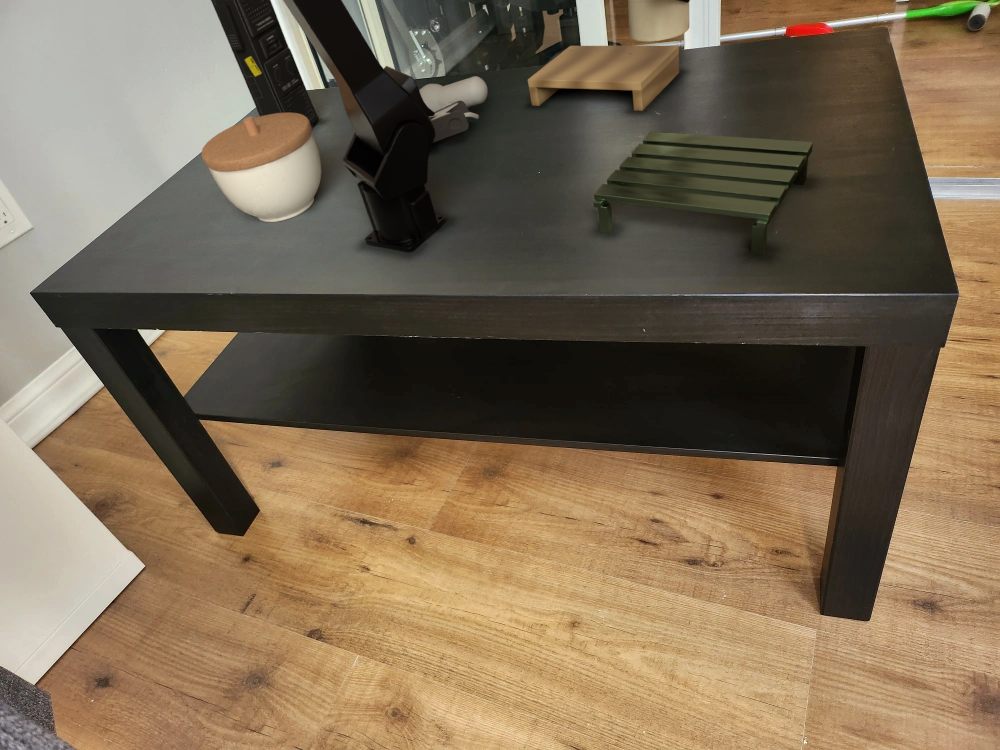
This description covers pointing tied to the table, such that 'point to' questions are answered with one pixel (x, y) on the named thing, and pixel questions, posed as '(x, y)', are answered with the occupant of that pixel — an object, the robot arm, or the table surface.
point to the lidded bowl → (267, 165)
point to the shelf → (608, 71)
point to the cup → (657, 19)
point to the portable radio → (264, 57)
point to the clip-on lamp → (453, 104)
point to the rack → (708, 177)
